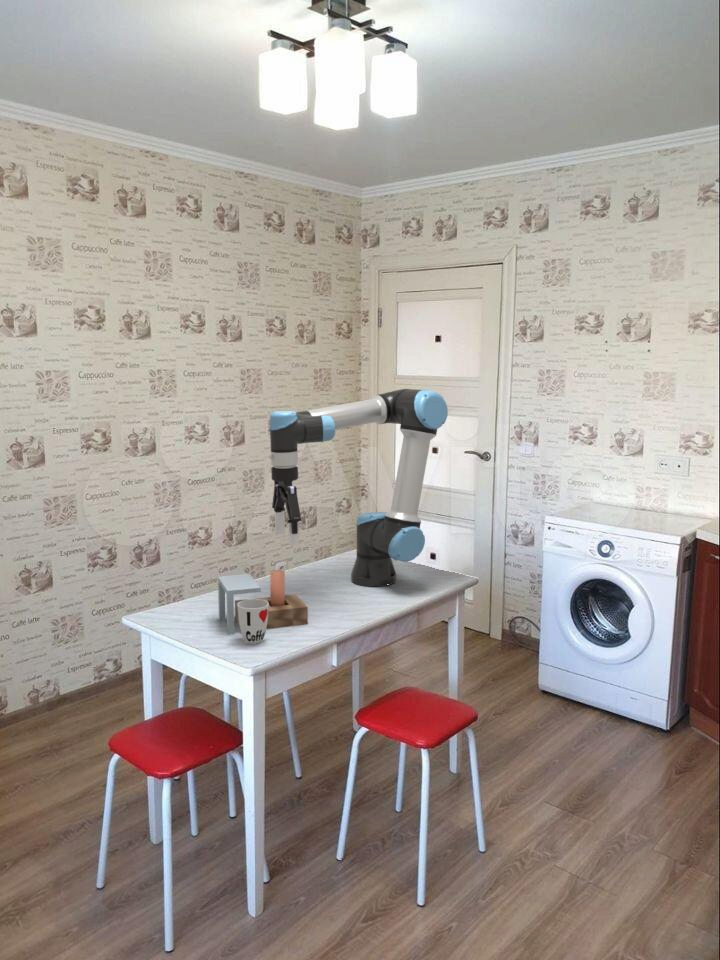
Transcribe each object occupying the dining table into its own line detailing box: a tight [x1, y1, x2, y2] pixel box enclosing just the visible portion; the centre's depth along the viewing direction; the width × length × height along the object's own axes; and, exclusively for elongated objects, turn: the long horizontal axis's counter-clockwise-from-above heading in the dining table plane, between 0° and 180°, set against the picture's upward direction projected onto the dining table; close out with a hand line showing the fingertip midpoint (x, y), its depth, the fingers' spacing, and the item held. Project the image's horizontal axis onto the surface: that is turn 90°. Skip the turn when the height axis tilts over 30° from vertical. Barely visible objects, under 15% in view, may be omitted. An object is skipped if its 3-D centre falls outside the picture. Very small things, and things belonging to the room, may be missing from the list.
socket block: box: [234, 593, 309, 630], centre depth 214 cm, size 18×12×5 cm, turn 111°
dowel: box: [269, 569, 286, 607], centre depth 214 cm, size 4×4×14 cm
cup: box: [237, 598, 269, 645], centre depth 199 cm, size 8×8×10 cm
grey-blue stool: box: [217, 573, 262, 636], centre depth 210 cm, size 9×14×12 cm, turn 21°
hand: (286, 539), depth 217 cm, fingers open, 13 cm apart
